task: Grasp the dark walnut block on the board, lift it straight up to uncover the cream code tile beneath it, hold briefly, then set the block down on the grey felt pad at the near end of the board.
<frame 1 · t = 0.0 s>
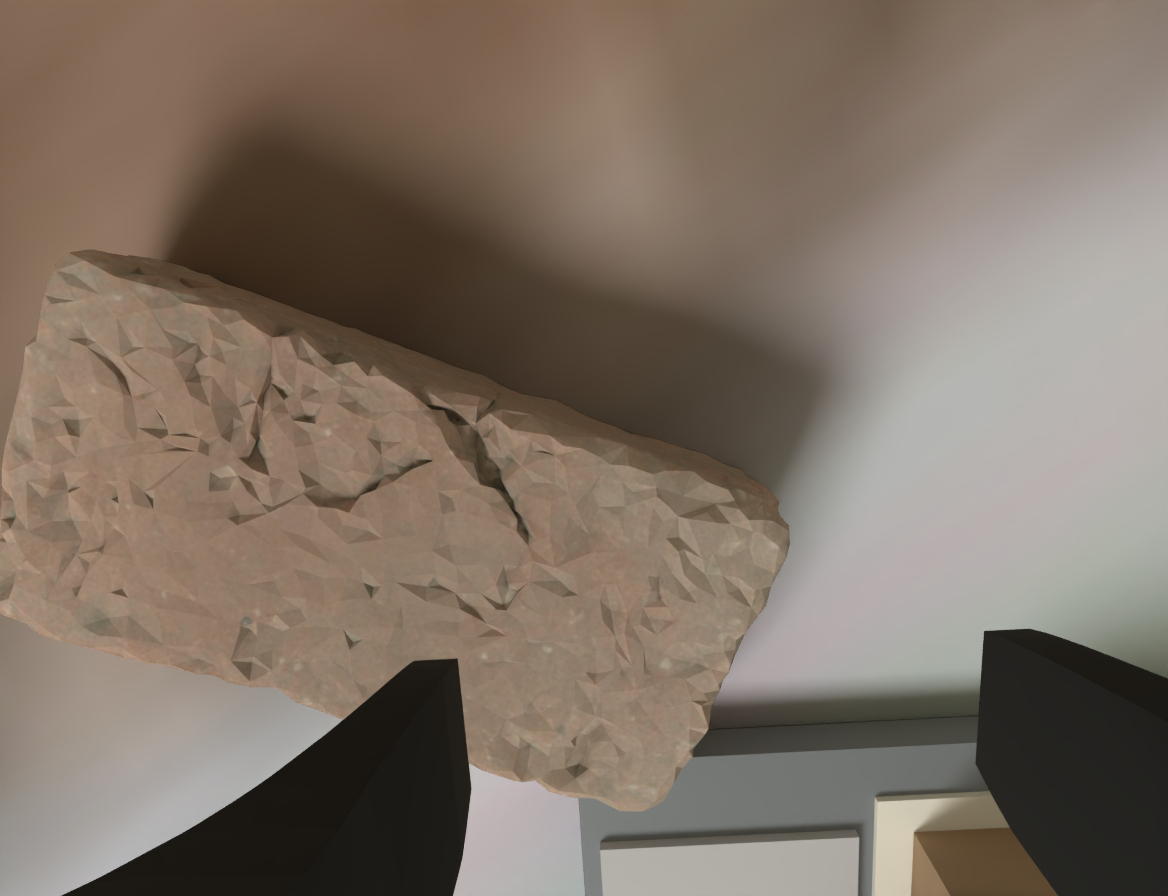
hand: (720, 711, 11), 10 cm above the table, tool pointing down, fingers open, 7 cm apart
brick: (430, 502, 21), on the table
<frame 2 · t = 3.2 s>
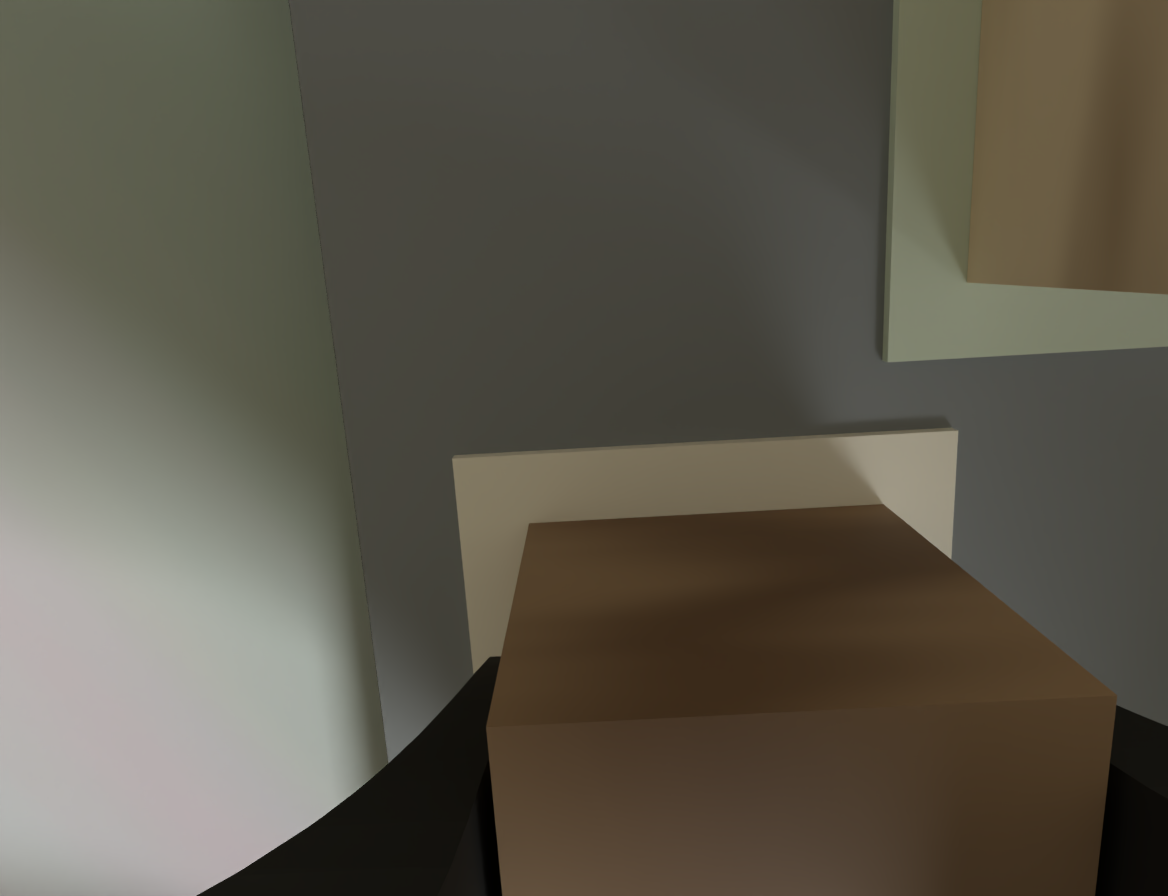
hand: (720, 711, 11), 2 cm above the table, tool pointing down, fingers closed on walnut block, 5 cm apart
walnut block: (709, 673, 12), point 1 cm above the table, touching board, gripper
board: (817, 596, 13), on the table
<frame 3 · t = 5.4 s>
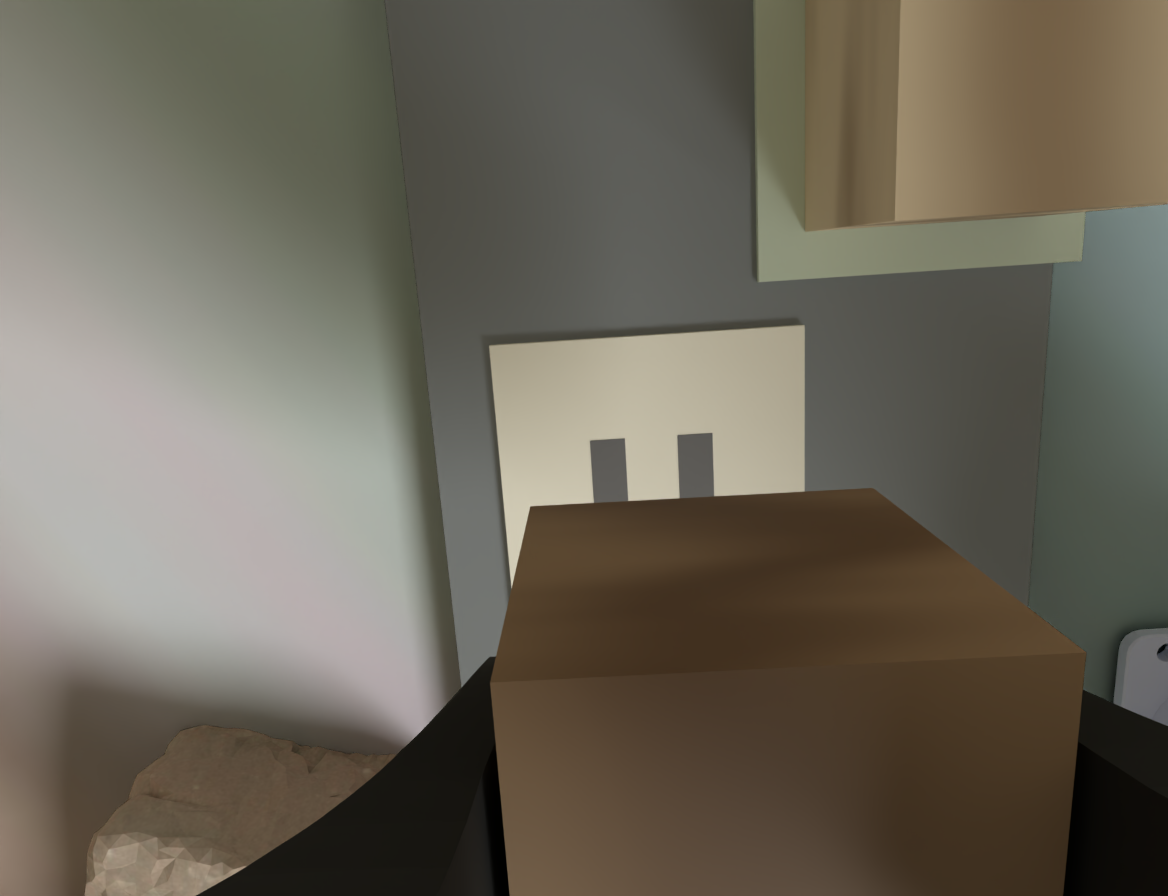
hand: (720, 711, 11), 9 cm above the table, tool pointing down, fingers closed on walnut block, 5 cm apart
walnut block: (704, 653, 12), point 8 cm above the table, touching gripper
oak block: (926, 98, 16), point 1 cm above the table, touching board
board: (728, 446, 19), on the table
when the fingers open (4 cm above the table, at t = 7.8 s): walnut block stays where it is, resting on pad.
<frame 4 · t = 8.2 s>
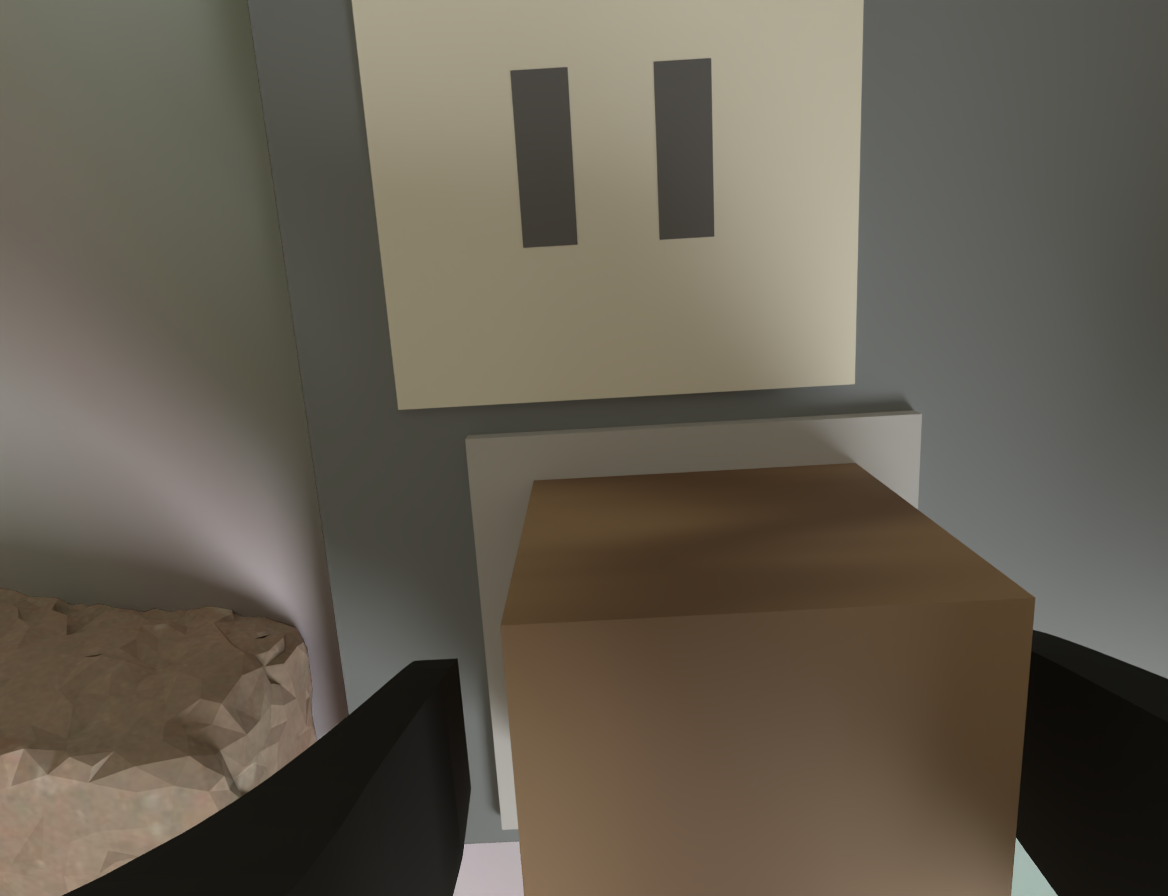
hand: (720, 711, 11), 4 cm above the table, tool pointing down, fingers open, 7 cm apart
walnut block: (697, 619, 13), point 1 cm above the table, touching pad
board: (736, 125, 12), on the table
pad: (695, 627, 13), resting on board
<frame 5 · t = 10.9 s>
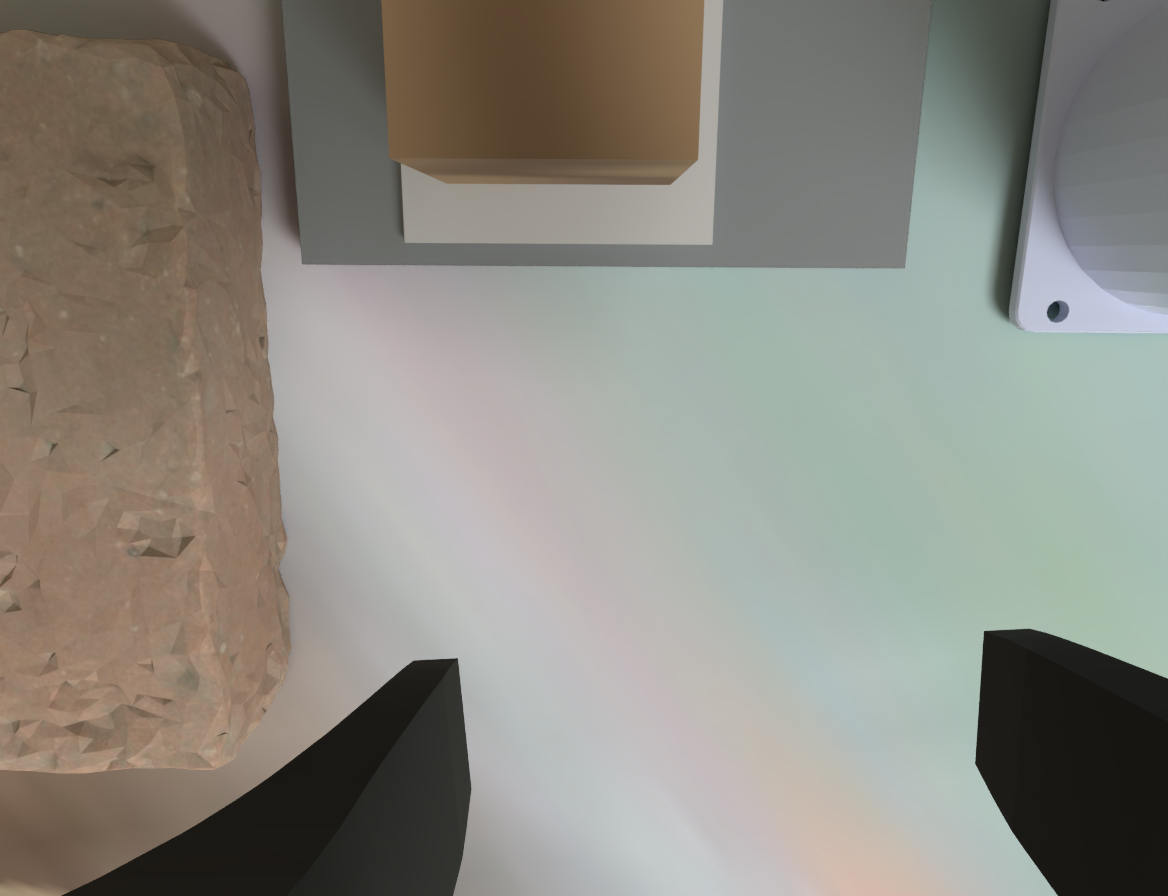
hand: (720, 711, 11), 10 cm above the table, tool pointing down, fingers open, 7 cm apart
walnut block: (558, 62, 17), point 1 cm above the table, touching pad
brick: (130, 396, 21), on the table
pad: (558, 79, 17), resting on board
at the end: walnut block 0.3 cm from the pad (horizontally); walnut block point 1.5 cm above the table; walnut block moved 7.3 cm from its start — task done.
